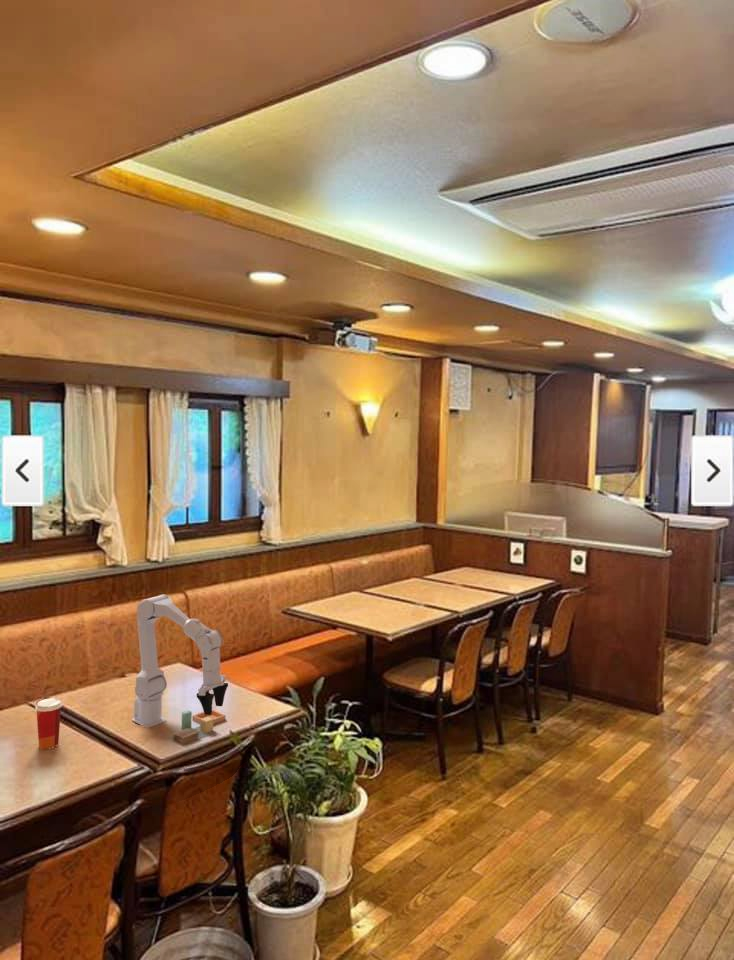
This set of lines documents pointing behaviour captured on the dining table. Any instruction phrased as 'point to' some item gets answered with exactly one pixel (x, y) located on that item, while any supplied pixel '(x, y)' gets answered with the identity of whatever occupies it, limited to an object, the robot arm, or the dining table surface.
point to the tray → (214, 715)
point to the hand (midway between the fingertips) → (213, 710)
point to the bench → (200, 735)
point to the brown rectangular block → (185, 735)
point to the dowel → (186, 719)
